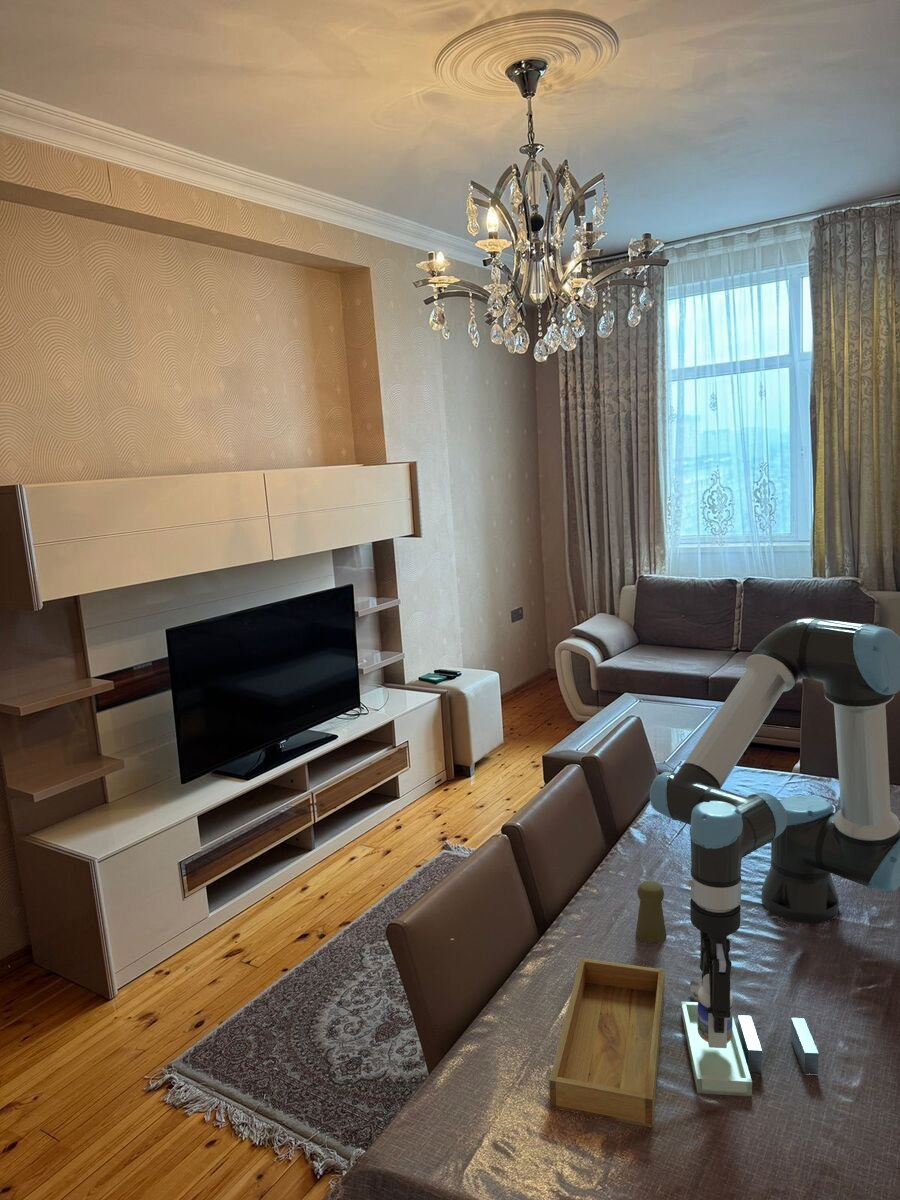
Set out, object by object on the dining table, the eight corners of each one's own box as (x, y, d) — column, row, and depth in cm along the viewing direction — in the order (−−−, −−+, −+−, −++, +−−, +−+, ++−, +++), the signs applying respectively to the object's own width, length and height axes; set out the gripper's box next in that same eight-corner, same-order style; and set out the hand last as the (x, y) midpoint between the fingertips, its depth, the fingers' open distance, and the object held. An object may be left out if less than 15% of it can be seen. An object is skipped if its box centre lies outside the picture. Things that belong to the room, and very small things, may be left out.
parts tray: (729, 1016, 143) (729, 1003, 143) (751, 1096, 126) (752, 1081, 125) (681, 1014, 145) (681, 1001, 144) (697, 1093, 127) (697, 1078, 127)
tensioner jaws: (803, 1040, 137) (804, 1018, 136) (817, 1076, 129) (818, 1053, 128) (737, 1036, 138) (738, 1015, 138) (748, 1072, 131) (748, 1049, 130)
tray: (652, 1130, 121) (652, 1096, 120) (550, 1110, 126) (548, 1077, 125) (665, 997, 150) (664, 969, 149) (580, 985, 154) (580, 957, 153)
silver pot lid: (721, 987, 151) (721, 972, 151) (728, 1009, 145) (728, 993, 145) (687, 985, 152) (687, 970, 152) (692, 1007, 146) (692, 992, 146)
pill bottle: (692, 1024, 137) (692, 971, 135) (724, 1021, 137) (724, 968, 136) (705, 1047, 132) (705, 992, 130) (738, 1044, 132) (738, 989, 130)
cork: (667, 944, 165) (667, 893, 163) (636, 942, 166) (635, 891, 164) (665, 927, 171) (665, 877, 169) (635, 925, 172) (634, 876, 170)
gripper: (682, 871, 140) (682, 995, 144) (699, 933, 122) (698, 1073, 126) (728, 872, 139) (727, 997, 143) (753, 935, 121) (750, 1076, 125)
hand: (714, 1032), depth 135 cm, fingers closed on pill bottle, 5 cm apart
